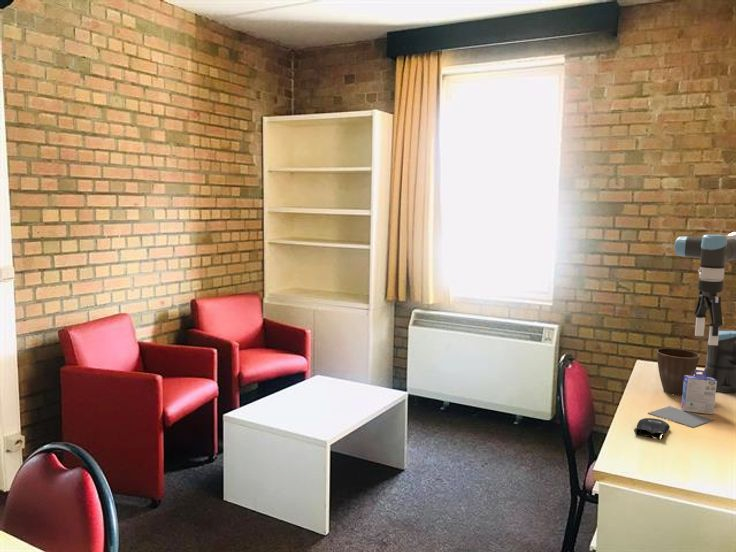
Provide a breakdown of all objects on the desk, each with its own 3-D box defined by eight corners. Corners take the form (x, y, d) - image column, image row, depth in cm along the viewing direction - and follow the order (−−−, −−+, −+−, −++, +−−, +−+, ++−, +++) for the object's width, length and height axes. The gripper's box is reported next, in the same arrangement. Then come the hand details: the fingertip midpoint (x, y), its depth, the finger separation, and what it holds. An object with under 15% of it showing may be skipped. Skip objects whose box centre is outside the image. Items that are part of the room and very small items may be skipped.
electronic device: (666, 446, 198) (671, 426, 210) (665, 430, 197) (670, 410, 209) (634, 444, 203) (640, 424, 215) (632, 427, 202) (639, 408, 214)
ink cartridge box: (709, 410, 229) (714, 370, 228) (714, 415, 224) (719, 374, 222) (679, 407, 231) (684, 367, 229) (684, 411, 226) (688, 371, 224)
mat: (669, 407, 231) (669, 406, 231) (714, 420, 219) (714, 419, 218) (647, 413, 223) (647, 412, 223) (693, 427, 210) (693, 426, 210)
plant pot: (702, 399, 242) (706, 358, 240) (663, 397, 242) (666, 356, 240) (684, 387, 256) (688, 348, 254) (647, 386, 257) (650, 347, 255)
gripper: (687, 274, 231) (683, 331, 234) (712, 284, 207) (707, 348, 210) (709, 275, 230) (704, 332, 233) (737, 285, 206) (731, 349, 209)
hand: (705, 340), depth 222 cm, fingers open, 13 cm apart
